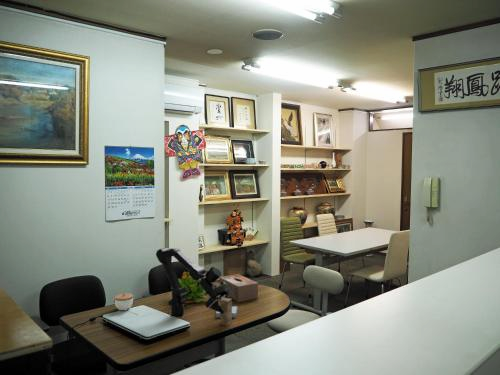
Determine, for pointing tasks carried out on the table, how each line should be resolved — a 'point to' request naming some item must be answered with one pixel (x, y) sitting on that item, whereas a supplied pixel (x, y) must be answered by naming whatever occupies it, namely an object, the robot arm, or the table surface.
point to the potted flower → (192, 289)
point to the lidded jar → (123, 301)
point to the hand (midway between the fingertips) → (227, 310)
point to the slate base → (234, 312)
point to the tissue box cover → (240, 287)
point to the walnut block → (226, 311)
